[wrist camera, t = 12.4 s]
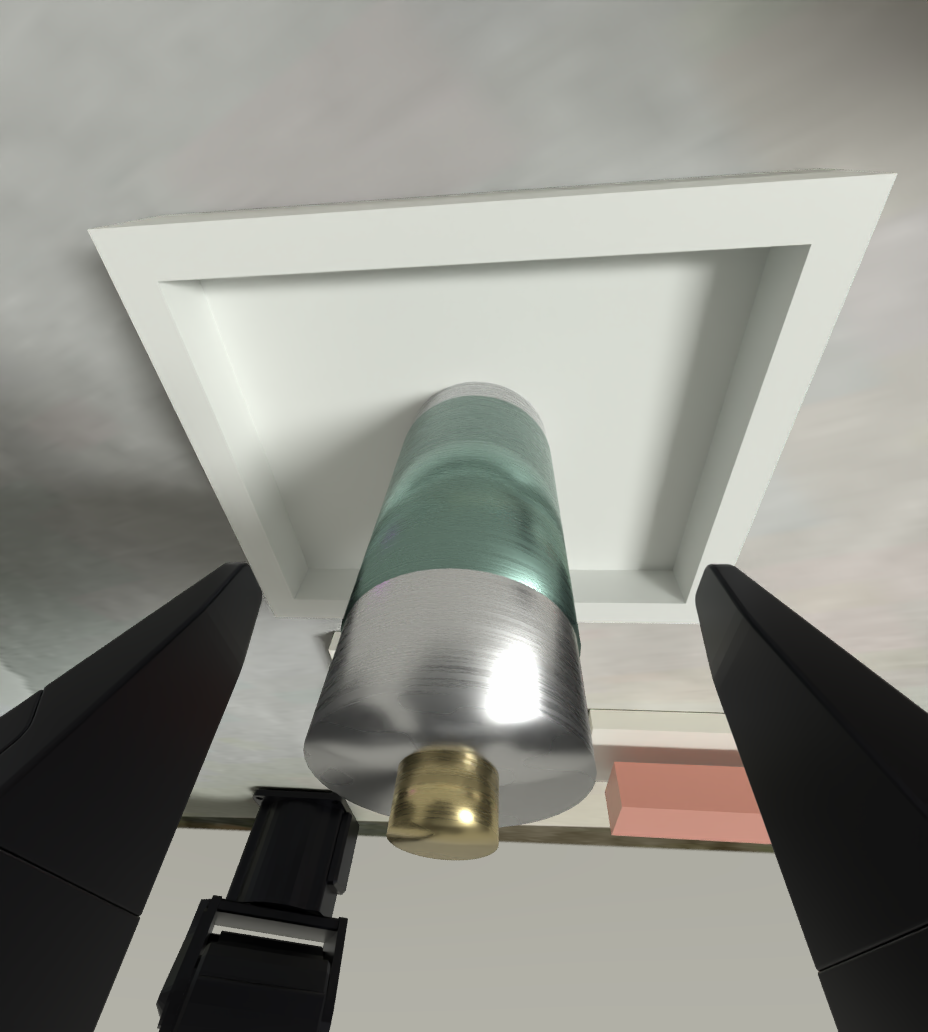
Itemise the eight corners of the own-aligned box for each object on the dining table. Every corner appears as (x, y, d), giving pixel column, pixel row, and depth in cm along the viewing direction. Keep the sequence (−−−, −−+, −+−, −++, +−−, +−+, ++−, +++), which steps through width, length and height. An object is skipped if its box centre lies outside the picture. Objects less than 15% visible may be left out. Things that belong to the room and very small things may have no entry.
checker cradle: (380, 754, 28) (369, 808, 26) (335, 631, 21) (313, 691, 19) (832, 773, 26) (864, 835, 24) (960, 642, 19) (1025, 713, 16)
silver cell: (415, 504, 15) (323, 879, 7) (398, 381, 12) (225, 757, 5) (544, 504, 15) (590, 899, 7) (553, 378, 12) (641, 778, 4)
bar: (605, 792, 25) (611, 834, 23) (613, 761, 23) (622, 806, 21) (843, 803, 24) (867, 849, 22) (877, 772, 22) (906, 821, 20)
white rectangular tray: (299, 568, 19) (275, 617, 17) (159, 215, 11) (86, 229, 9) (686, 570, 17) (710, 624, 15) (819, 168, 10) (897, 173, 8)
